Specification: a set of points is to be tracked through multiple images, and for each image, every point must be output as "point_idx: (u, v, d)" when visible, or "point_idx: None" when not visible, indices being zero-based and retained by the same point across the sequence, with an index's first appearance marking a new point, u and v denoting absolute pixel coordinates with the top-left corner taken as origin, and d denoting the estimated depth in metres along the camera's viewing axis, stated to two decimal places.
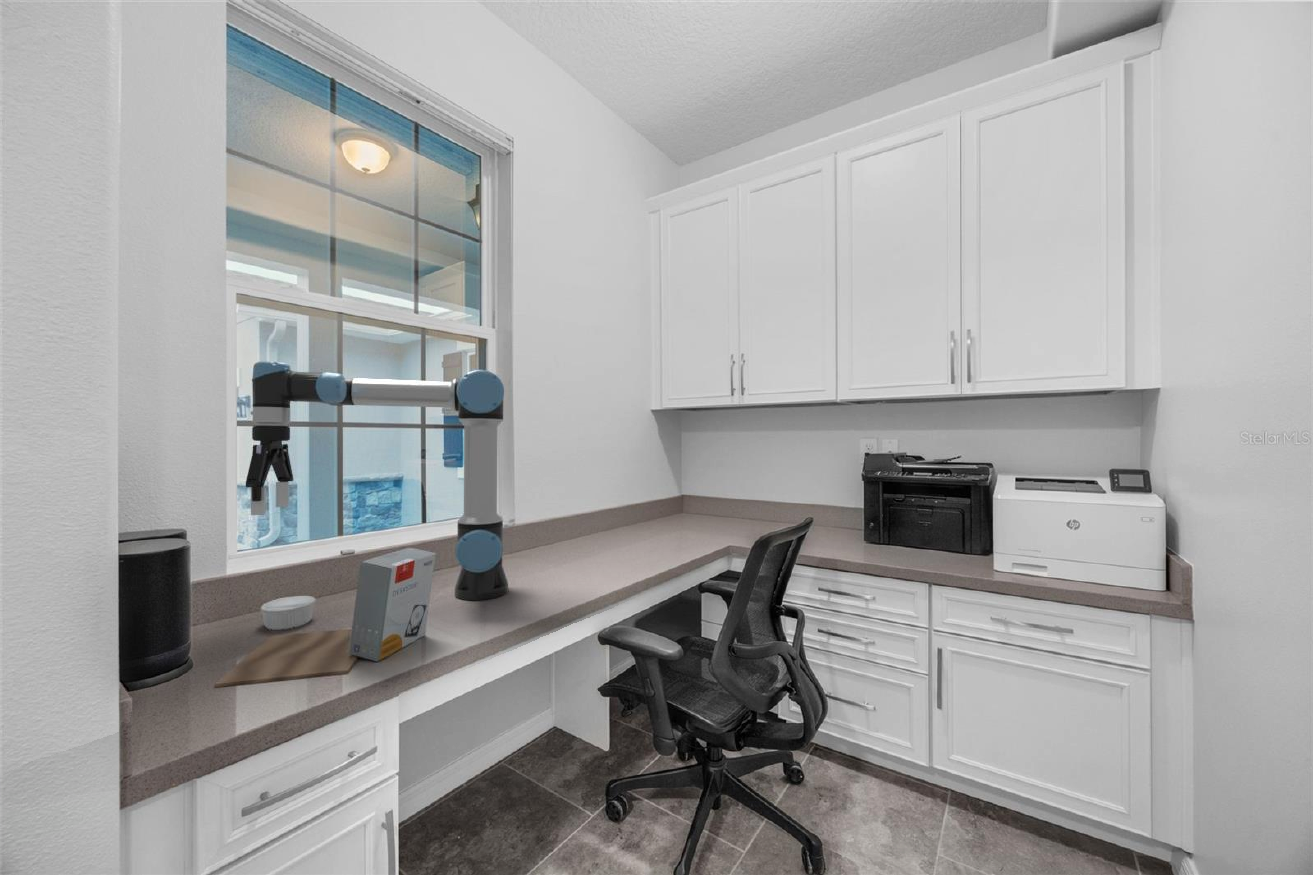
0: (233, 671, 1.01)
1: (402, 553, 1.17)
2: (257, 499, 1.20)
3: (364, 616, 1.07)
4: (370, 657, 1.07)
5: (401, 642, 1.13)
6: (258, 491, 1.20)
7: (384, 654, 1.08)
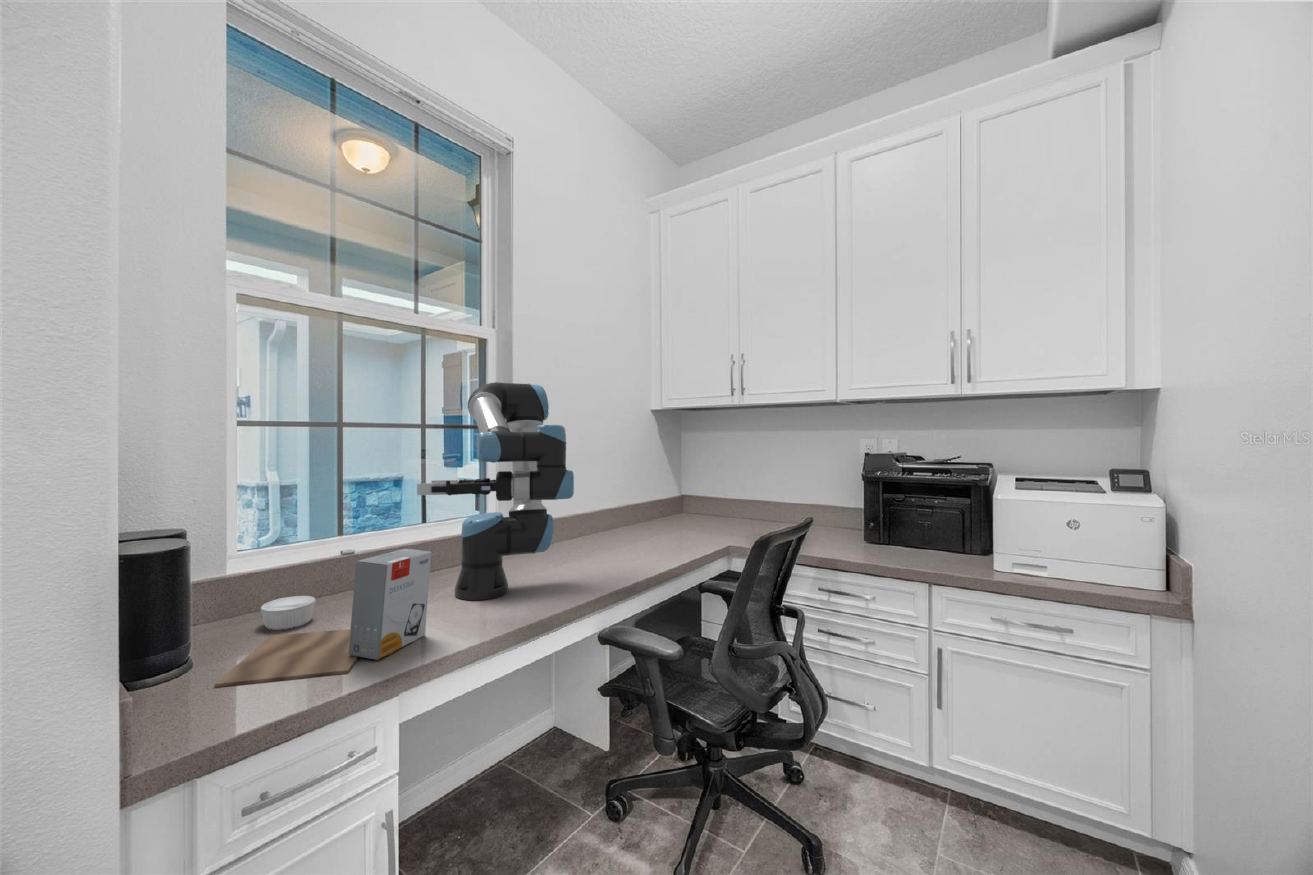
0: (233, 671, 1.01)
1: (398, 553, 1.18)
2: None
3: (362, 615, 1.08)
4: (370, 656, 1.07)
5: (401, 641, 1.13)
6: None
7: (384, 652, 1.08)
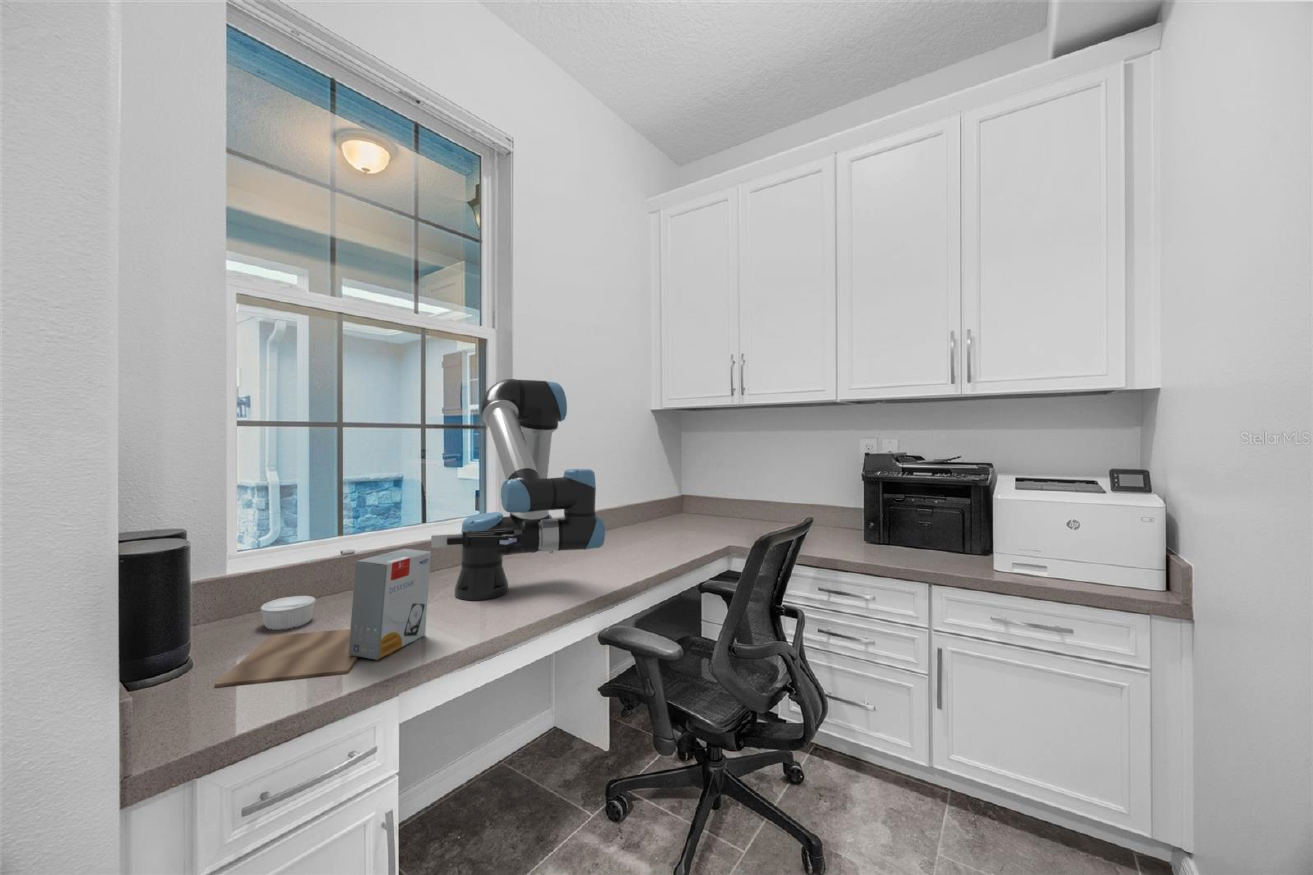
0: (233, 671, 1.01)
1: (397, 553, 1.18)
2: None
3: (362, 615, 1.08)
4: (370, 656, 1.07)
5: (401, 641, 1.13)
6: None
7: (384, 652, 1.08)
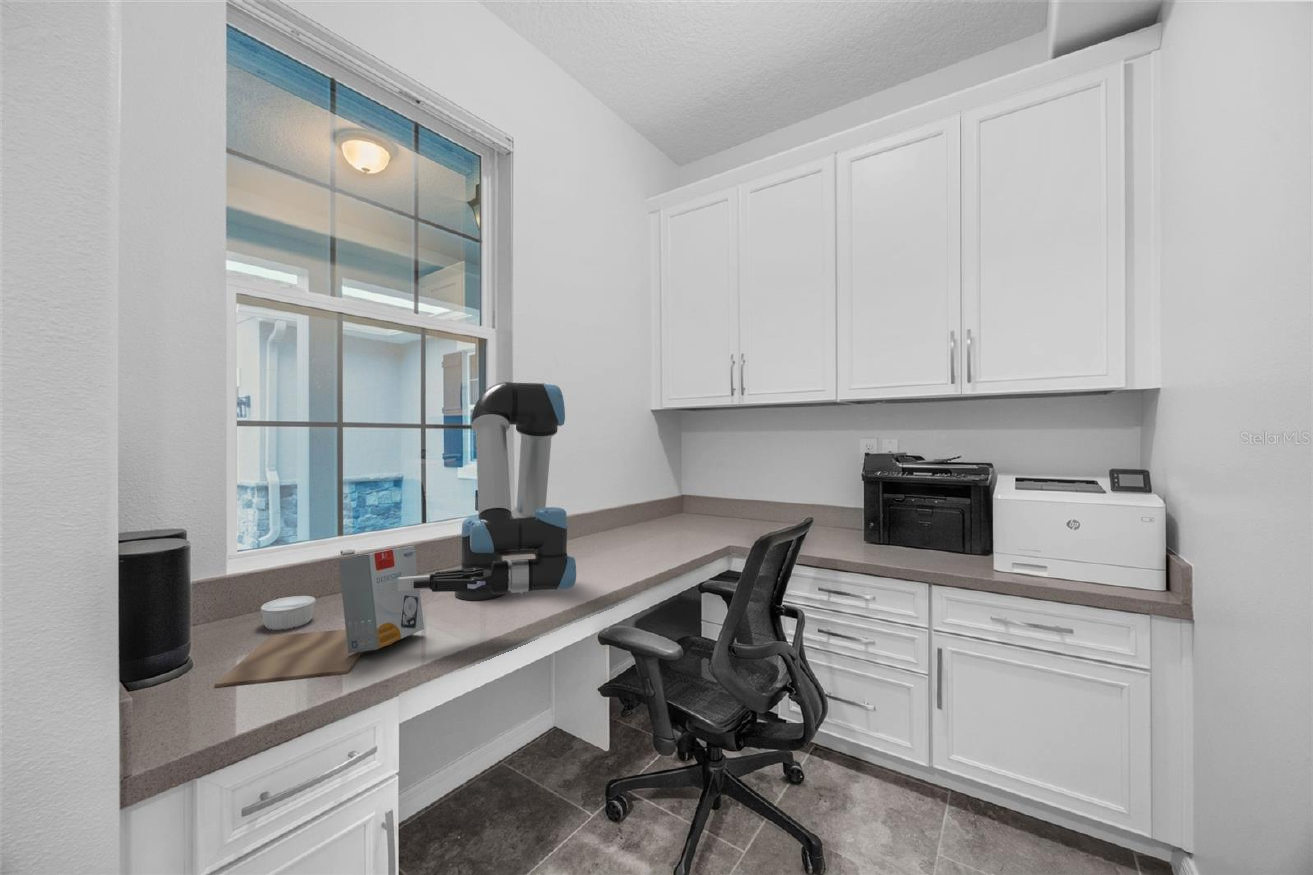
0: (233, 671, 1.01)
1: None
2: None
3: (354, 610, 1.09)
4: (369, 648, 1.07)
5: (399, 632, 1.14)
6: None
7: (382, 642, 1.09)
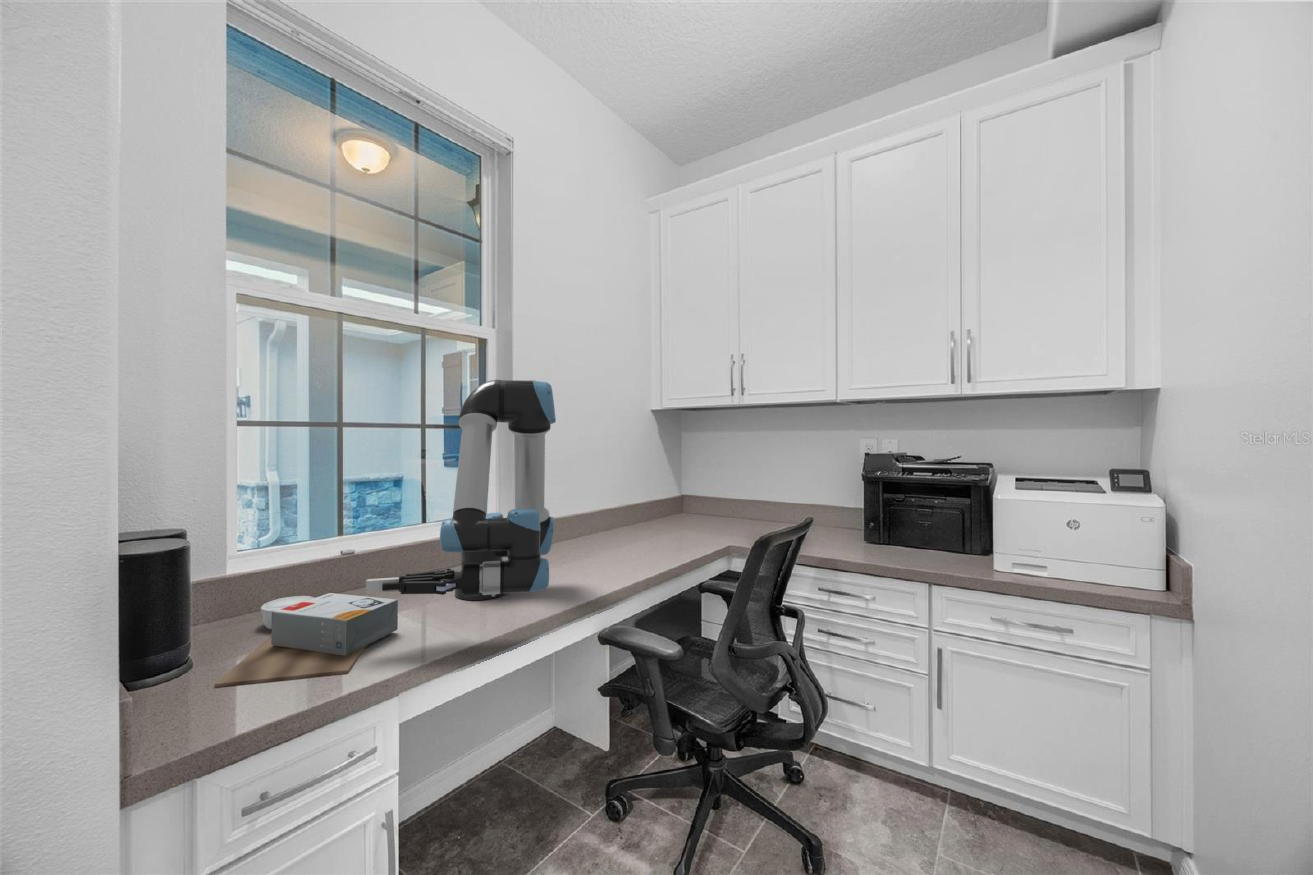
0: (233, 671, 1.01)
1: None
2: None
3: (311, 638, 1.10)
4: (343, 629, 1.08)
5: (365, 609, 1.15)
6: None
7: (348, 617, 1.10)
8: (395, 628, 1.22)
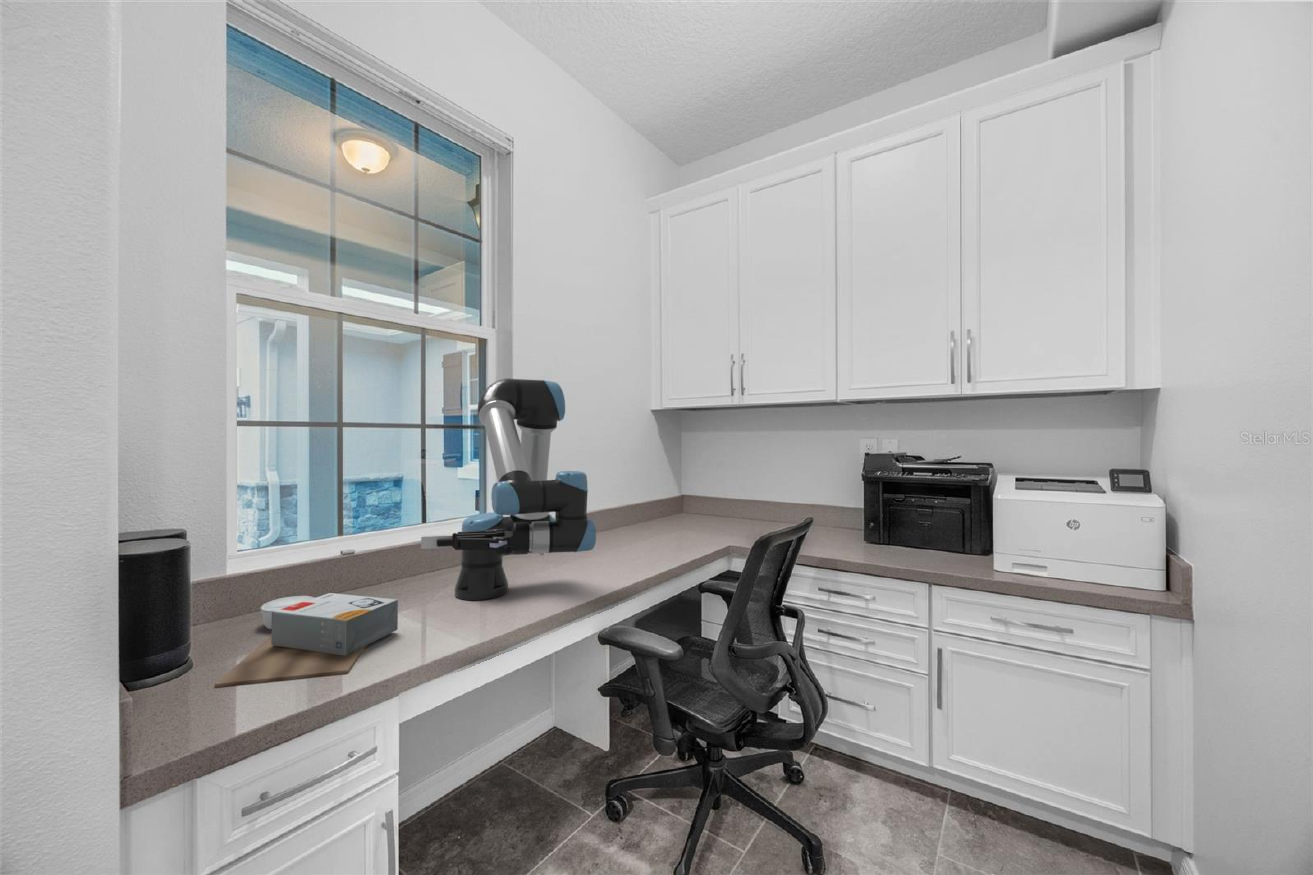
0: (233, 671, 1.01)
1: None
2: None
3: (311, 638, 1.10)
4: (343, 629, 1.08)
5: (365, 609, 1.15)
6: None
7: (348, 617, 1.10)
8: (395, 628, 1.22)
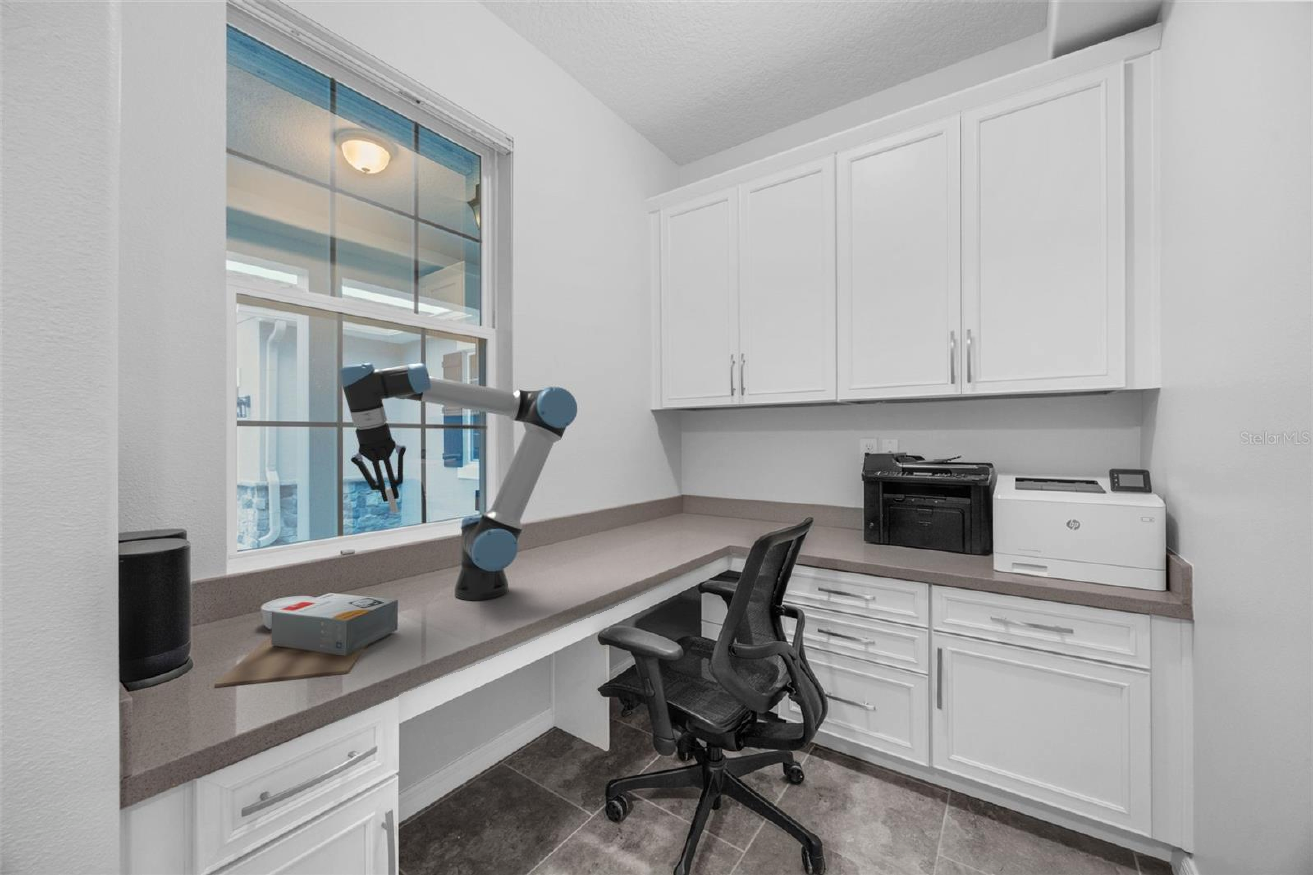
0: (233, 671, 1.01)
1: None
2: (398, 495, 1.37)
3: (311, 638, 1.10)
4: (343, 629, 1.08)
5: (365, 609, 1.15)
6: None
7: (348, 617, 1.10)
8: (395, 628, 1.22)
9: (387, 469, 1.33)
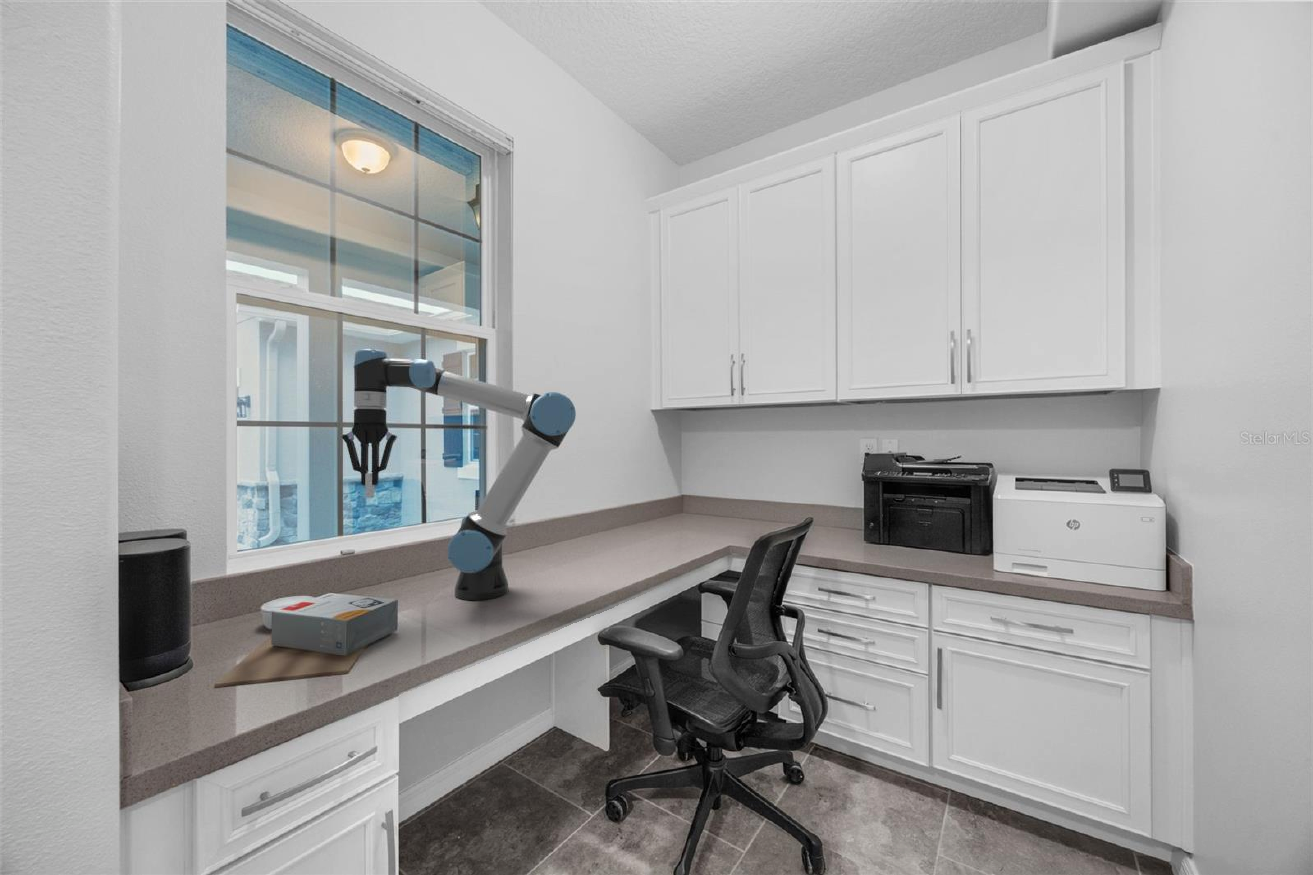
0: (233, 671, 1.01)
1: None
2: (377, 483, 1.38)
3: (311, 638, 1.10)
4: (343, 629, 1.08)
5: (365, 609, 1.15)
6: (378, 476, 1.38)
7: (348, 617, 1.10)
8: (395, 628, 1.22)
9: (373, 453, 1.36)
